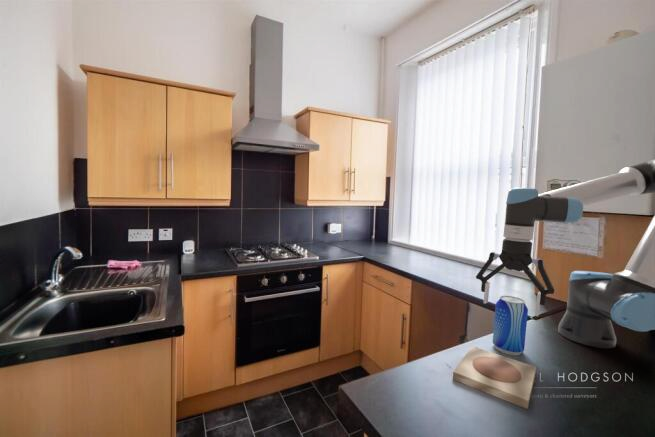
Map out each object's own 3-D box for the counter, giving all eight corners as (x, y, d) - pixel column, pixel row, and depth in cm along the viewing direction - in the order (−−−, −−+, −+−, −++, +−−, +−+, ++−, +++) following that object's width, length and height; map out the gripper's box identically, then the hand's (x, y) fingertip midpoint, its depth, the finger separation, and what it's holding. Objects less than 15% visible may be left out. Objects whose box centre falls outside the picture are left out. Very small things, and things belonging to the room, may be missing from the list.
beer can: (528, 358, 89) (533, 305, 88) (497, 354, 90) (502, 302, 89) (517, 345, 97) (521, 296, 96) (488, 341, 99) (492, 293, 97)
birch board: (535, 373, 81) (536, 365, 81) (527, 409, 67) (528, 398, 67) (471, 352, 91) (472, 344, 91) (452, 379, 77) (453, 370, 77)
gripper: (469, 235, 96) (463, 300, 98) (570, 247, 80) (560, 324, 82) (475, 233, 102) (469, 295, 103) (570, 244, 86) (561, 316, 88)
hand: (510, 308), depth 93 cm, fingers open, 13 cm apart
